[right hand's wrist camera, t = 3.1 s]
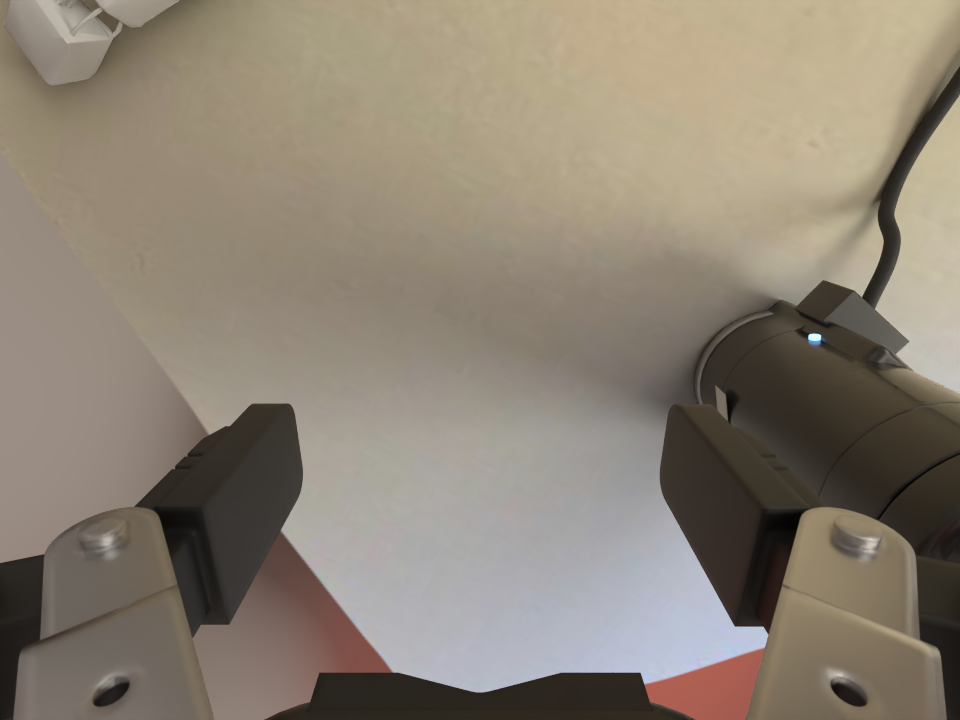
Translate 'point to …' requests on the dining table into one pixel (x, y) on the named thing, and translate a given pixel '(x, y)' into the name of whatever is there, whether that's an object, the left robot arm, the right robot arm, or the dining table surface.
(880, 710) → the right robot arm
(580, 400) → the dining table surface
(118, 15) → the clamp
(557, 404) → the dining table surface
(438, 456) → the dining table surface
